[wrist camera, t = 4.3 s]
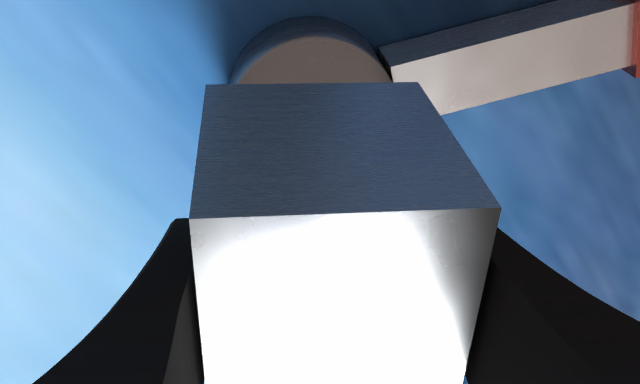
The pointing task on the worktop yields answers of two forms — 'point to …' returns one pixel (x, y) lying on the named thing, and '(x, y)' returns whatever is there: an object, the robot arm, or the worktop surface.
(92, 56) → the worktop surface
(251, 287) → the brushed white cube
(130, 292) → the robot arm
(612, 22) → the ratchet
